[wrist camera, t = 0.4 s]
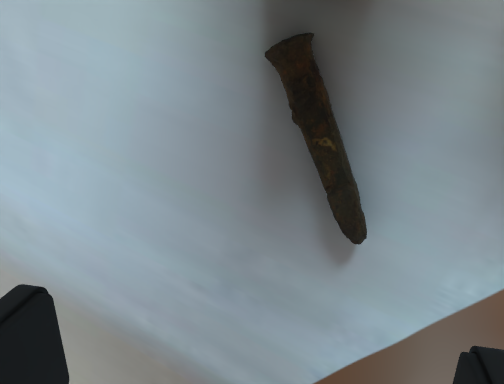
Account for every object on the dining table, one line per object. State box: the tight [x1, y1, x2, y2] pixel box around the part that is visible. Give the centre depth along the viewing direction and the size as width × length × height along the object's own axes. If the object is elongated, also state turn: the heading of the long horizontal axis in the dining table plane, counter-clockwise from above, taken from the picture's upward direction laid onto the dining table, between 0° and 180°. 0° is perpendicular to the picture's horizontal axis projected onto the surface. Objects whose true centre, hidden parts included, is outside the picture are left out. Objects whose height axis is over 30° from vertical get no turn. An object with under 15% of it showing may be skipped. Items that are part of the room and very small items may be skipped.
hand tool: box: [265, 33, 367, 244], centre depth 35 cm, size 19×4×5 cm, turn 21°
